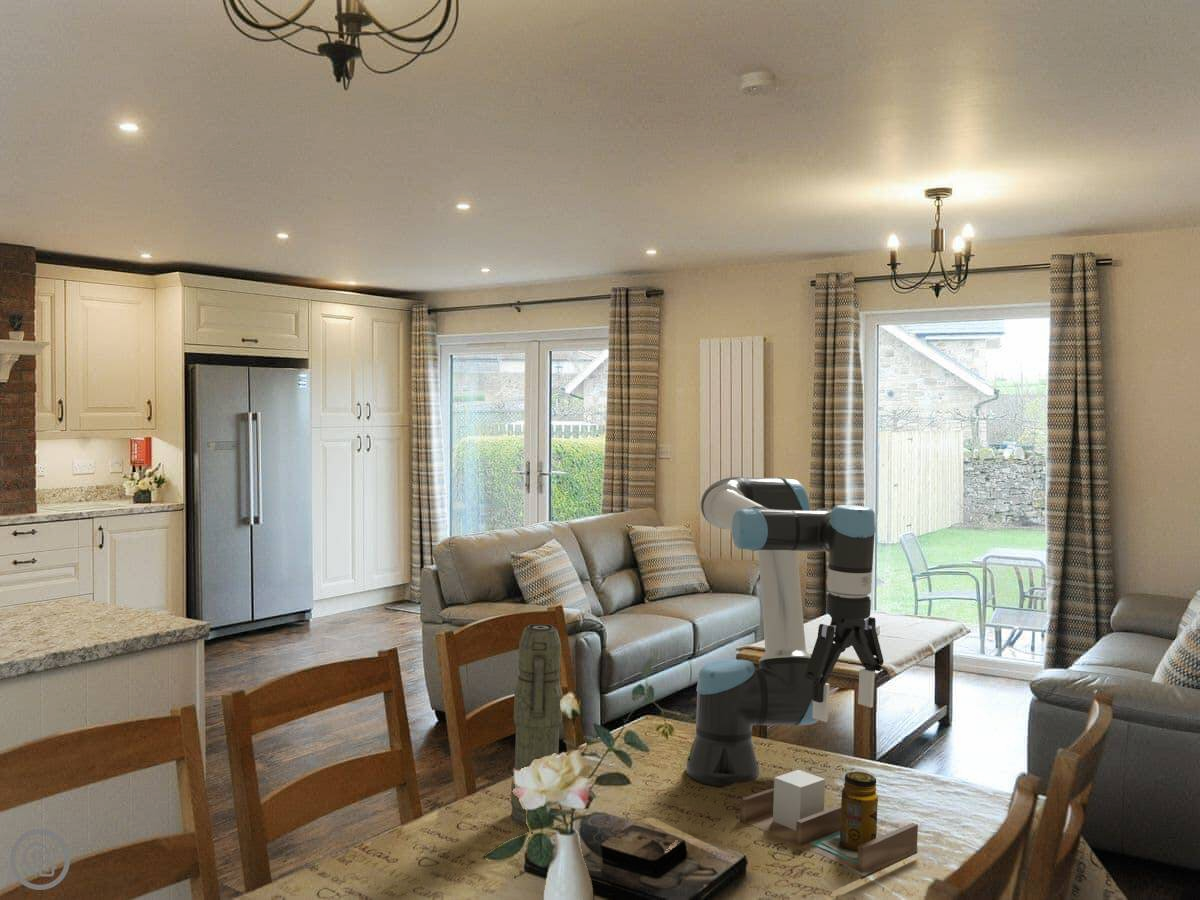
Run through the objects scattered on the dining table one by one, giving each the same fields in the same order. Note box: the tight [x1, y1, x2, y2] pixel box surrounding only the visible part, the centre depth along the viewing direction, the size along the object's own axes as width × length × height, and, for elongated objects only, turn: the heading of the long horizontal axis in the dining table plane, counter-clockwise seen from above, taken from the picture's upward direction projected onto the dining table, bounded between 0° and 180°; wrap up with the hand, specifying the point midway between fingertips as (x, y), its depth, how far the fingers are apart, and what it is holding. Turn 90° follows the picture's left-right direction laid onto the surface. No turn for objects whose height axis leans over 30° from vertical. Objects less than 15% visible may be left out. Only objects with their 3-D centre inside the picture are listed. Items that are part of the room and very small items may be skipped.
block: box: [773, 769, 826, 831], centre depth 176 cm, size 6×7×8 cm
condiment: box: [821, 771, 879, 859], centre depth 166 cm, size 7×8×12 cm
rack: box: [740, 787, 919, 880], centre depth 171 cm, size 26×16×5 cm, turn 40°
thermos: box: [510, 623, 564, 827], centre depth 177 cm, size 9×12×35 cm
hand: (843, 712), depth 171 cm, fingers open, 13 cm apart
